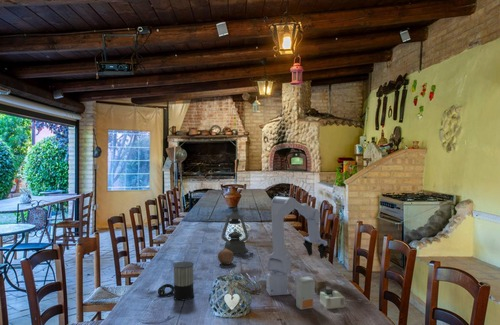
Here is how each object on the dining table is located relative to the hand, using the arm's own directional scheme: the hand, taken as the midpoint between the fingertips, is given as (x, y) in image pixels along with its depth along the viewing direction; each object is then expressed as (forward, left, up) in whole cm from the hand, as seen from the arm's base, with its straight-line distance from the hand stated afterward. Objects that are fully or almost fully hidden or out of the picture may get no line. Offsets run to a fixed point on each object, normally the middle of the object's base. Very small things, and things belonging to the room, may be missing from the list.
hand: (316, 256), depth 199 cm
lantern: (-34, +64, -11) cm, 73 cm away
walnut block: (-7, -24, -11) cm, 27 cm away
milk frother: (-72, -14, -11) cm, 74 cm away
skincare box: (-19, -38, -11) cm, 43 cm away
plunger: (-7, -32, -9) cm, 34 cm away
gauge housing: (-7, -37, -11) cm, 39 cm away
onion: (-44, +32, -11) cm, 55 cm away
